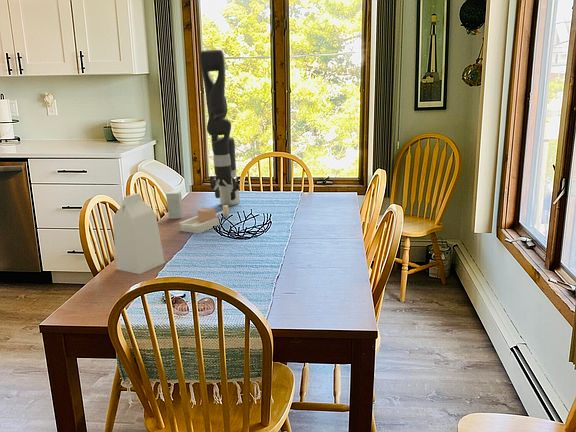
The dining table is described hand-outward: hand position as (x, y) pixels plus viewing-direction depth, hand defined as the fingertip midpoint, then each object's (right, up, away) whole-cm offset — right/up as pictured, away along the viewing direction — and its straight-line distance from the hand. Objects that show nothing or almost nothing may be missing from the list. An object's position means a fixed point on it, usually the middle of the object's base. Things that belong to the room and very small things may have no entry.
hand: (225, 198), depth 256 cm
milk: (-24, -26, -55) cm, 66 cm away
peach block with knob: (-4, -9, -4) cm, 11 cm away
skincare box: (-23, -9, +6) cm, 26 cm away
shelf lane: (-10, -13, -13) cm, 21 cm away
